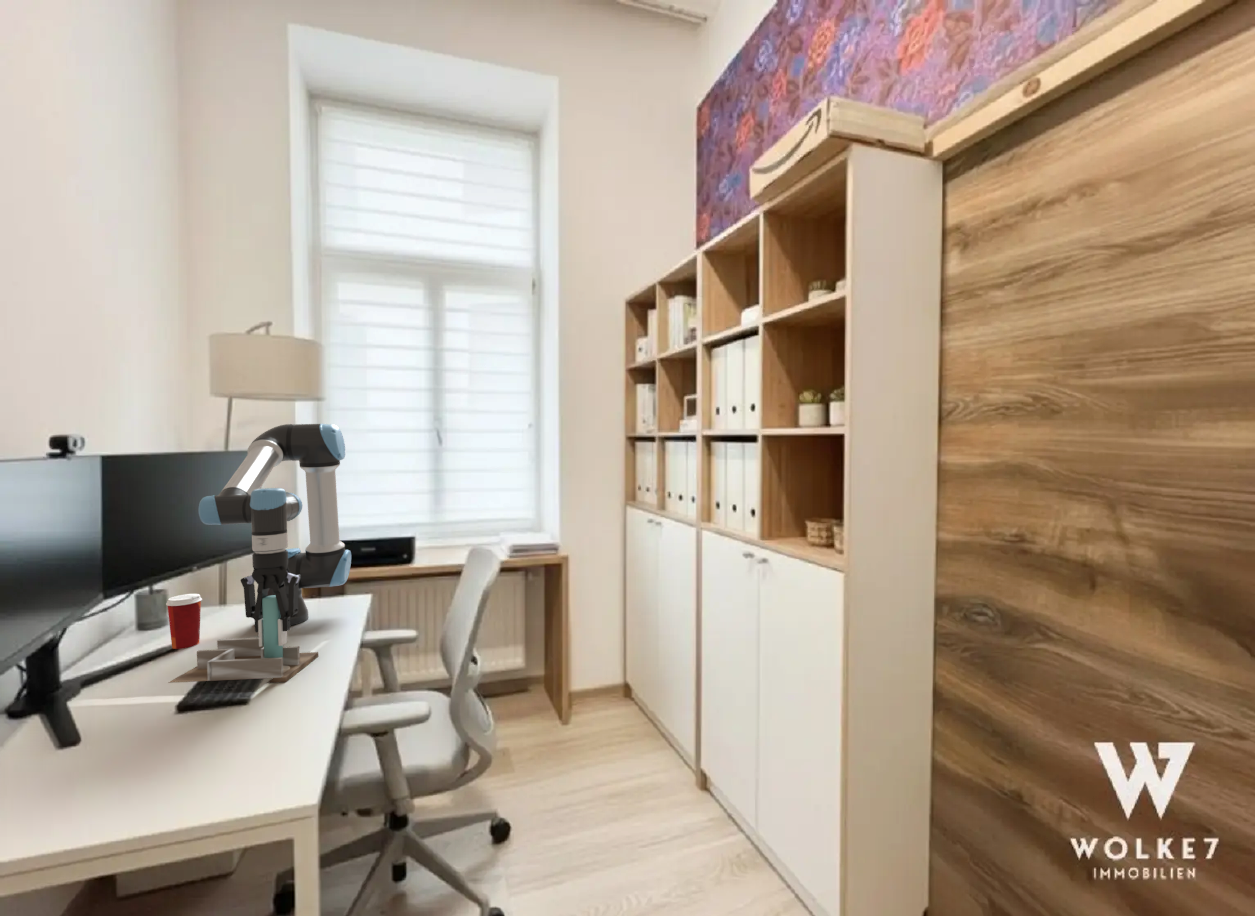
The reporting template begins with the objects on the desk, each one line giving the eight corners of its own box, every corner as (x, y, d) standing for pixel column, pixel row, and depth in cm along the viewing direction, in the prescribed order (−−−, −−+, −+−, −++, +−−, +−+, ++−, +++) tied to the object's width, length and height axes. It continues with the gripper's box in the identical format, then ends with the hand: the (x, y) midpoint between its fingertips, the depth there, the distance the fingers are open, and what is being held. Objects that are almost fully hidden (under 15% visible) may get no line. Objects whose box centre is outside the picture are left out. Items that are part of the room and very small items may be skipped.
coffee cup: (211, 644, 168) (209, 593, 168) (186, 654, 160) (184, 600, 159) (184, 643, 169) (182, 593, 169) (159, 654, 161) (157, 600, 160)
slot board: (214, 660, 155) (213, 639, 155) (318, 656, 157) (317, 635, 156) (168, 687, 138) (167, 663, 138) (285, 682, 140) (285, 658, 140)
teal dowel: (269, 658, 146) (267, 595, 145) (286, 657, 146) (284, 594, 145) (260, 664, 142) (258, 599, 141) (277, 663, 142) (275, 598, 141)
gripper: (224, 554, 139) (228, 651, 139) (298, 552, 140) (301, 648, 140) (243, 549, 146) (246, 640, 147) (312, 547, 147) (315, 637, 148)
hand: (273, 644), depth 144 cm, fingers closed on teal dowel, 4 cm apart
